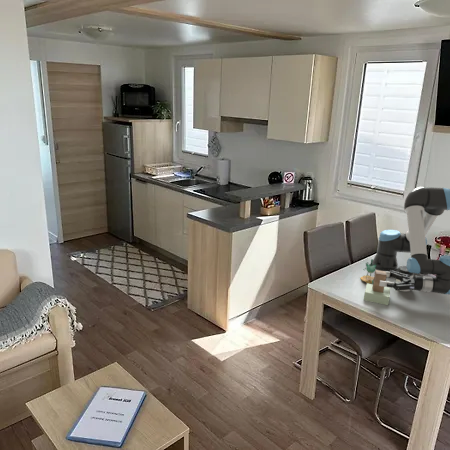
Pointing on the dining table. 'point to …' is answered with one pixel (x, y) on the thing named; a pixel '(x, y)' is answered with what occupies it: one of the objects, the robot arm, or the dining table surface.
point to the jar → (404, 270)
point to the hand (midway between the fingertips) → (378, 277)
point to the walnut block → (378, 280)
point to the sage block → (377, 295)
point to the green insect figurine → (370, 269)
